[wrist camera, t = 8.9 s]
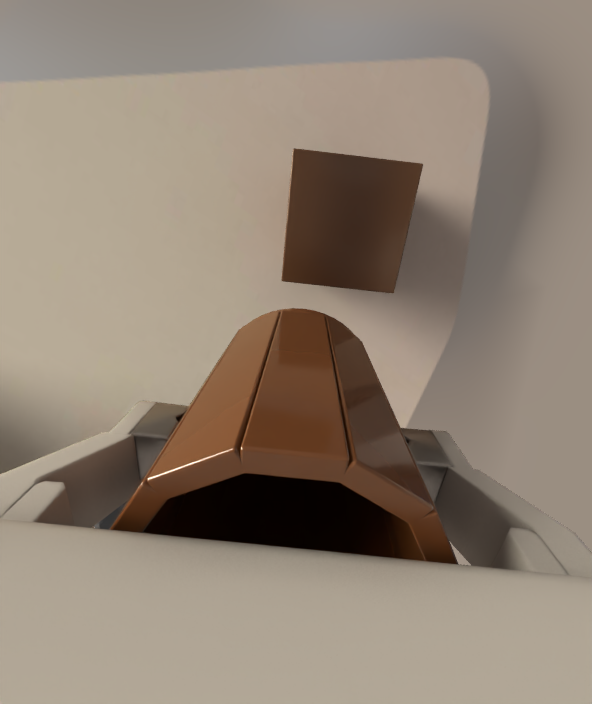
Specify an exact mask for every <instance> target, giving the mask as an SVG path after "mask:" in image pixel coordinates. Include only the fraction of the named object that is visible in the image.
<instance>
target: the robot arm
mask: <svg viewBox="0 0 592 704" xmlns="http://www.w3.org/2000/svg"><path fill="white" fill-rule="evenodd" d="M187 408H188V406H184V405H176V404H167V403H157V402H150V401H139V402H138V403H137V404H136V405H135V406H134V407H133V408H132V409H131V410H130V411H129V412H128V413H127V414H126V415H125V416H124V417H123V418H122V419H121V420H120V421H119V422H118V423H117V424H116V426H115V427H114V428H113V429H112V430H111V431H110V432H102V433H100V434H97V435H95V436H92V437H90V438H88V439H85V440H83V441H80V442H78V443H75V444H73V445H71V446H68V447H66V448H63V449H61V450H58V451H56V452H54V453H51V454H49V455H46V456H44V457H41V458H39V459H36V460H34V461H32V462H29V463H27V464H24V465H22V466H19V467H17V468H15V469H12V470H10V471H7V472H5V473H2V474H0V704H592V552H591V551H590V550H589V549H588V548H587V546H586V545H585V544H584V543H583V542H582V541H581V539H580V538H579V537H578V536H577V535H576V534H575V533H574V532H573V531H571V530H570V529H568V528H567V527H565V526H564V525H562V524H561V523H559V522H558V521H556V520H555V519H553V518H552V517H550V516H549V515H547V514H545V513H544V512H542V511H541V510H539V509H538V508H536V507H535V506H533V505H532V504H530V503H529V502H527V501H526V500H524V499H523V498H521V497H520V496H518V495H516V494H515V493H513V492H512V491H510V490H509V489H507V488H506V487H504V486H503V485H501V484H500V483H498V482H497V481H495V480H493V479H492V478H490V477H489V476H487V475H486V474H484V473H483V472H481V471H480V470H476V469H473V468H472V467H471V465H470V464H469V462H468V461H467V459H466V458H465V456H464V455H463V453H462V452H461V450H460V449H459V447H458V446H457V444H456V443H455V441H454V440H453V439H452V437H451V436H450V434H449V433H447V432H446V431H435V430H418V429H407V428H401V430H402V433H403V435H404V437H405V439H406V442H407V444H408V446H409V448H410V451H411V453H412V455H413V457H414V459H415V462H416V464H417V466H418V468H419V471H420V473H421V475H422V477H423V480H424V482H425V484H426V486H427V489H428V491H429V493H430V495H431V497H432V500H433V502H434V504H435V506H436V509H437V511H438V513H439V516H440V518H441V521H442V524H443V526H444V529H445V531H446V534H447V536H448V539H449V541H450V542H451V543H452V544H453V546H454V547H455V548H456V549H457V550H458V551H459V552H460V553H461V554H462V555H463V556H464V558H465V559H466V560H467V561H468V562H469V563H470V564H471V565H472V566H468V565H458V564H448V563H438V562H428V561H419V560H409V559H399V558H389V557H379V556H369V555H360V554H350V553H340V552H330V551H320V550H310V549H300V548H290V547H279V546H269V545H259V544H249V543H239V542H229V541H219V540H209V539H198V538H188V537H178V536H168V535H158V534H148V533H138V532H128V531H118V530H108V529H98V528H92V527H93V526H94V525H96V524H97V523H98V522H100V521H101V520H102V519H104V518H105V517H106V516H108V515H109V514H110V513H112V512H113V511H114V510H116V509H117V508H118V507H120V506H121V505H122V504H124V503H125V502H126V501H128V499H129V498H130V496H131V494H132V493H133V491H134V490H135V488H136V487H137V485H138V484H139V482H140V481H141V479H142V477H143V476H144V474H145V473H146V471H147V470H148V468H149V467H150V465H151V464H152V462H153V461H154V459H155V457H156V456H157V454H158V453H159V451H160V450H161V448H162V447H163V445H164V444H165V442H166V440H167V439H168V437H169V436H170V434H171V433H172V431H173V430H174V428H175V427H176V425H177V423H178V422H179V420H180V419H181V417H182V416H183V414H184V413H185V411H186V410H187Z"/></svg>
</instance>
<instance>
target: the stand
mask: <svg viewBox="0 0 592 704" xmlns="http://www.w3.org/2000/svg"><path fill="white" fill-rule="evenodd" d="M422 167H423V164H420V163H411V162H403V161H395V160H386V159H378V158H369V157H361V156H353V155H344V154H336V153H328V152H319V151H311V150H302V149H293V154H292V166H291V177H290V189H289V200H288V212H287V224H286V235H285V247H284V258H283V270H282V281H285V282H294V283H303V284H312V285H321V286H330V287H340V288H349V289H358V290H367V291H376V292H385V293H394V289H395V285H396V281H397V276H398V272H399V268H400V263H401V259H402V255H403V250H404V246H405V241H406V237H407V233H408V228H409V224H410V220H411V215H412V211H413V207H414V202H415V198H416V193H417V189H418V185H419V180H420V176H421V172H422Z"/></svg>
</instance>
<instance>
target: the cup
mask: <svg viewBox="0 0 592 704" xmlns="http://www.w3.org/2000/svg"><path fill="white" fill-rule="evenodd" d="M109 530H118V531H128V532H138V533H148V534H158V535H168V536H178V537H188V538H198V539H209V540H219V541H229V542H239V543H249V544H259V545H269V546H279V547H290V548H300V549H310V550H320V551H330V552H340V553H350V554H360V555H369V556H379V557H389V558H399V559H409V560H419V561H428V562H438V563H448V564H458V562H457V560H456V557H455V554H454V552H453V549H452V547H451V544H450V542H449V539H448V536H447V534H446V531H445V529H444V526H443V524H442V521H441V518H440V516H439V513H438V511H437V509H436V506H435V504H434V502H433V500H432V497H431V495H430V493H429V491H428V489H427V486H426V484H425V482H424V480H423V477H422V475H421V473H420V471H419V468H418V466H417V464H416V462H415V459H414V457H413V455H412V453H411V451H410V448H409V446H408V444H407V442H406V439H405V437H404V435H403V433H402V430H401V428H400V426H399V424H398V421H397V419H396V417H395V415H394V412H393V410H392V408H391V406H390V404H389V401H388V399H387V397H386V395H385V392H384V390H383V388H382V386H381V383H380V381H379V379H378V377H377V374H376V372H375V370H374V368H373V366H372V363H371V361H370V359H369V357H368V354H367V352H366V350H365V348H364V345H363V343H362V342H361V341H360V339H359V338H358V337H356V336H355V335H354V334H353V332H352V331H351V330H350V329H348V328H347V327H346V326H345V325H344V324H342V323H341V322H339V321H338V320H336V319H334V318H332V317H330V316H328V315H326V314H323V313H320V312H317V311H313V310H307V309H294V308H292V309H282V310H277V311H273V312H270V313H267V314H264V315H261V316H260V317H258V318H256V319H254V320H252V321H251V322H249V323H248V324H247V325H245V326H243V327H242V328H241V329H239V330H238V332H237V333H236V335H235V336H234V338H233V339H232V341H231V342H230V344H229V345H228V347H227V348H226V350H225V351H224V353H223V354H222V356H221V357H220V359H219V360H218V362H217V363H216V365H215V366H214V368H213V369H212V371H211V372H210V374H209V376H208V377H207V379H206V380H205V382H204V383H203V385H202V386H201V388H200V389H199V391H198V393H197V394H196V396H195V397H194V399H193V400H192V402H191V403H190V405H189V406H188V408H187V410H186V411H185V413H184V414H183V416H182V417H181V419H180V420H179V422H178V423H177V425H176V427H175V428H174V430H173V431H172V433H171V434H170V436H169V437H168V439H167V440H166V442H165V444H164V445H163V447H162V448H161V450H160V451H159V453H158V454H157V456H156V457H155V459H154V461H153V462H152V464H151V465H150V467H149V468H148V470H147V471H146V473H145V474H144V476H143V477H142V479H141V481H140V482H139V484H138V485H137V487H136V488H135V490H134V491H133V493H132V494H131V496H130V498H129V499H128V501H127V502H126V504H125V505H124V507H123V508H122V510H121V511H120V513H119V515H118V516H117V518H116V519H115V521H114V522H113V524H112V525H111V527H110V528H109Z"/></svg>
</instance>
